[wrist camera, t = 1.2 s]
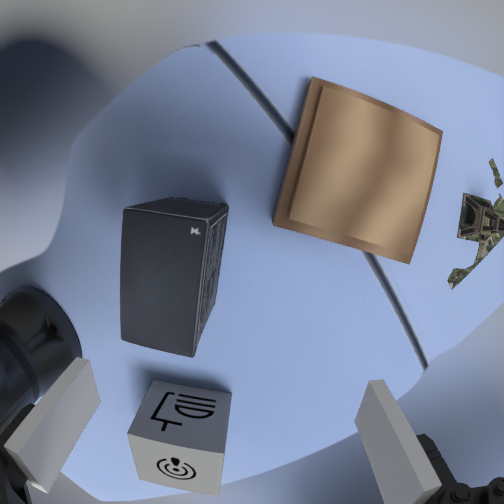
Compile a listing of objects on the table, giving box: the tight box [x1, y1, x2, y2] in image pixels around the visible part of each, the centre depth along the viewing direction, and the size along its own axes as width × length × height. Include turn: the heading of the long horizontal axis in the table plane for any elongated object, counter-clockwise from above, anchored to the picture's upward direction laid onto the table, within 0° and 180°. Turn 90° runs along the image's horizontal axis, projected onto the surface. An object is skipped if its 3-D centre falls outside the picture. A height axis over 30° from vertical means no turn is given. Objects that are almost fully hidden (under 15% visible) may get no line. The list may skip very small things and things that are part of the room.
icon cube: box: [127, 380, 232, 496], centre depth 30 cm, size 10×10×10 cm
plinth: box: [272, 77, 443, 264], centre depth 25 cm, size 14×14×4 cm
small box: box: [120, 197, 229, 358], centre depth 24 cm, size 11×6×10 cm, turn 171°
